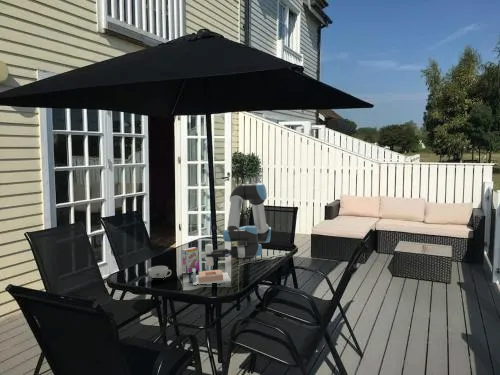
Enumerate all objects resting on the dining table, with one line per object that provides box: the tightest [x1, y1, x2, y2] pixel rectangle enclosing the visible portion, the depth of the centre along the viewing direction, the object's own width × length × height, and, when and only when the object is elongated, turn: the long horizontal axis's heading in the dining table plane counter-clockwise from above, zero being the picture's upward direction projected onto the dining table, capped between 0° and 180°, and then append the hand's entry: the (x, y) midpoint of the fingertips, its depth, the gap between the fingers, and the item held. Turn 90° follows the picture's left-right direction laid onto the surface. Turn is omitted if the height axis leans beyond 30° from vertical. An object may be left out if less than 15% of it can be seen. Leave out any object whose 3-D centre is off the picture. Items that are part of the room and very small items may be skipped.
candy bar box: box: [181, 246, 200, 273], centre depth 290 cm, size 11×5×16 cm, turn 134°
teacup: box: [147, 265, 172, 279], centre depth 274 cm, size 15×12×8 cm
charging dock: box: [192, 268, 232, 286], centre depth 269 cm, size 20×23×7 cm
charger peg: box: [204, 243, 214, 267], centre depth 268 cm, size 4×4×13 cm
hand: (200, 255), depth 267 cm, fingers closed on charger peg, 4 cm apart
